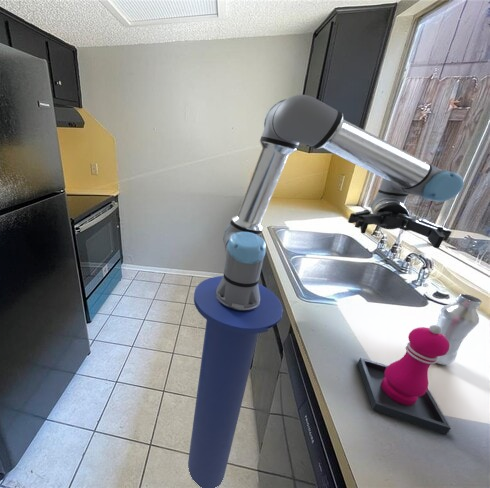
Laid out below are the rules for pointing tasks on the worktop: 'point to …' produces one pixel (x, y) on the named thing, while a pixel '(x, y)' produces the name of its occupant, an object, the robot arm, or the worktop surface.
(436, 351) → the pepper mill
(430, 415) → the tray
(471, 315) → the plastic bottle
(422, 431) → the worktop surface
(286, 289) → the worktop surface
